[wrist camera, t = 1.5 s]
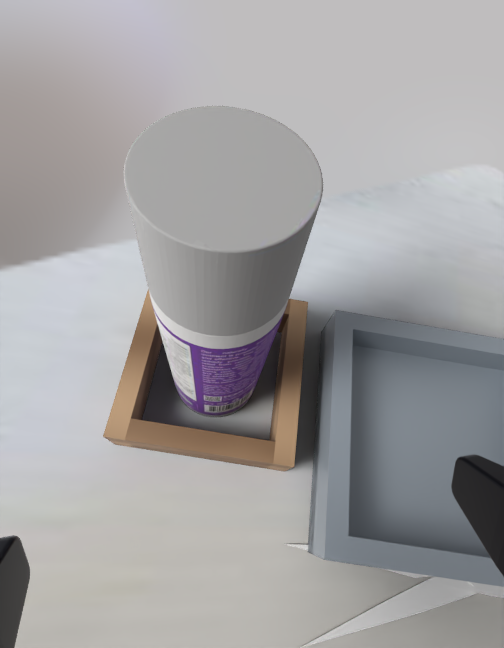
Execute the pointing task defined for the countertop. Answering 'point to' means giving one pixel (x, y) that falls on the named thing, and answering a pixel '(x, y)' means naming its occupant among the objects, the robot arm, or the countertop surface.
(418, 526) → the tray
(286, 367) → the holder
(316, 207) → the container
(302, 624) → the countertop surface
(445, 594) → the scissors
